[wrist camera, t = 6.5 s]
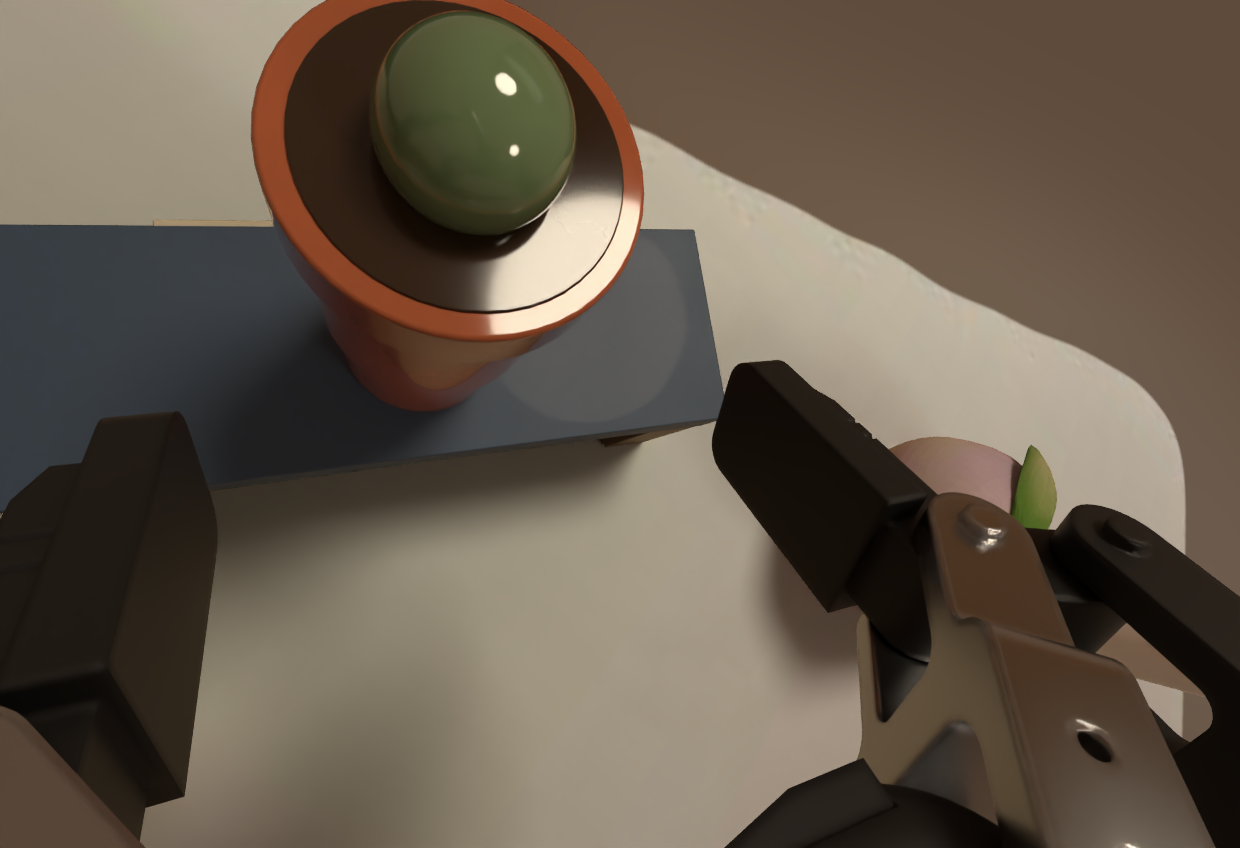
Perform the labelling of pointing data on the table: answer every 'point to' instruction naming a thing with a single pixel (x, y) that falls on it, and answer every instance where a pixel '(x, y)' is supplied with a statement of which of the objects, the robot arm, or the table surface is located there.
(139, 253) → the dark blue bench
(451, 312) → the pot
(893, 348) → the table surface
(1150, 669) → the perfume bottle
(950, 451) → the decorative fruit
